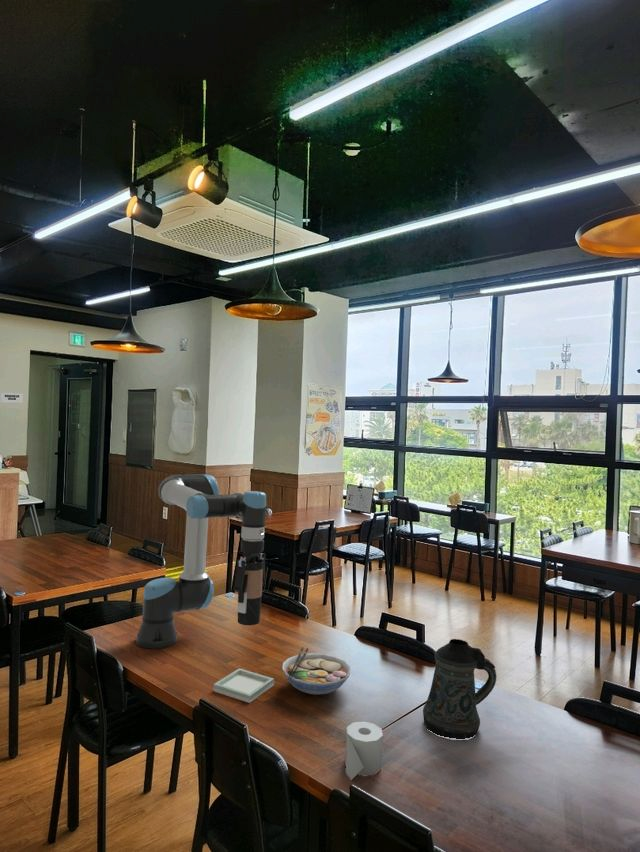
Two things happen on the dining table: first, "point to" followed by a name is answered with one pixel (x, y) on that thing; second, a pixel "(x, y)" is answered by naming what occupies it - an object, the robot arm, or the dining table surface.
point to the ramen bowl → (316, 672)
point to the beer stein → (457, 690)
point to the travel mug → (252, 594)
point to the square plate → (243, 685)
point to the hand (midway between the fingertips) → (249, 608)
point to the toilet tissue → (363, 749)
